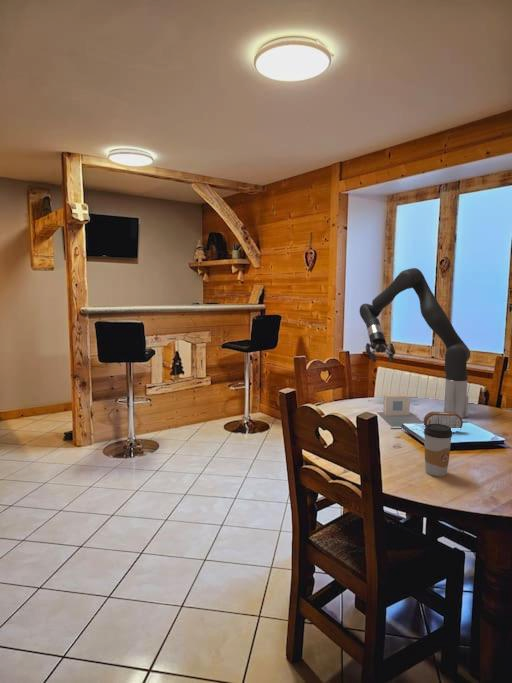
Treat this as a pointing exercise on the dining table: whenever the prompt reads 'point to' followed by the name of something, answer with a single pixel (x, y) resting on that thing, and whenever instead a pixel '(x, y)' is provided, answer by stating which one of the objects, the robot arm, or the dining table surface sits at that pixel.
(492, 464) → the dining table surface
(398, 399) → the tile
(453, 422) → the tin
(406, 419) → the slate board
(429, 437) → the coffee cup
